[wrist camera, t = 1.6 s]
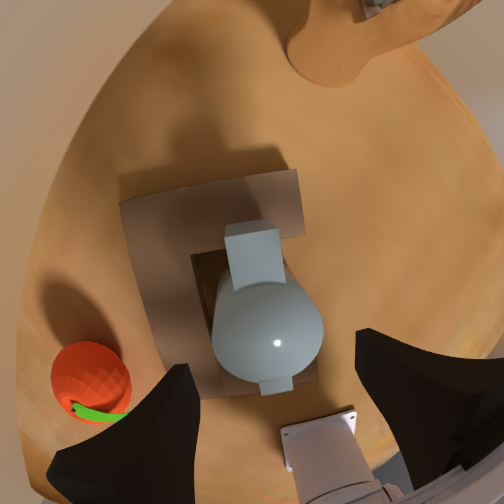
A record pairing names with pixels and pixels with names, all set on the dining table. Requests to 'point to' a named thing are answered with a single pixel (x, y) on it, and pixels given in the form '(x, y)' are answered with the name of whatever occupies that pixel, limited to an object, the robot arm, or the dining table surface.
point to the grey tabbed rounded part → (262, 311)
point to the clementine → (91, 383)
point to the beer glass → (362, 33)
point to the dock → (185, 266)
